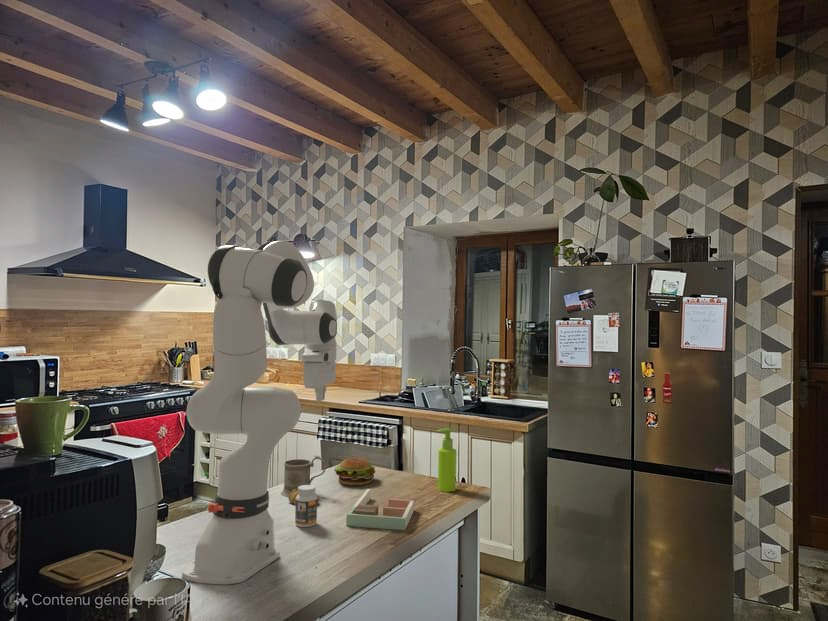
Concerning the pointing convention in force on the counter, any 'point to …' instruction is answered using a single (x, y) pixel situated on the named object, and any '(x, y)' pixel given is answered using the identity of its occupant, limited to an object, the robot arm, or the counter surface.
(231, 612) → the counter surface
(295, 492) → the pastry
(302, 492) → the pill bottle
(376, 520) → the box
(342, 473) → the food
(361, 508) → the block
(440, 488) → the soap dispenser
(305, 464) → the mug
